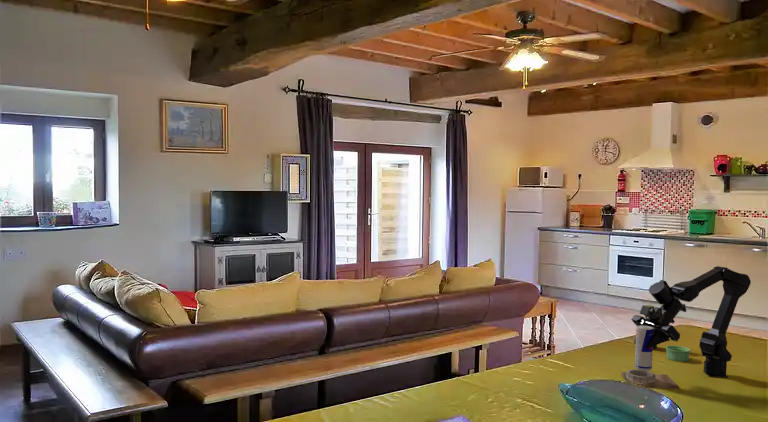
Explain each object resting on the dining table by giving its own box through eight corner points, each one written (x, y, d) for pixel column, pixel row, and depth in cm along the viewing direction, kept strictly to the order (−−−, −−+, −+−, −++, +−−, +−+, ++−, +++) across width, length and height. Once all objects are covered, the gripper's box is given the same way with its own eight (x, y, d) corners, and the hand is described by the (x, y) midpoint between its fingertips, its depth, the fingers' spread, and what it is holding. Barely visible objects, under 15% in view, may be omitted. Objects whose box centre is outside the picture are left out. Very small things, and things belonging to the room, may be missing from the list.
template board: (666, 377, 229) (667, 369, 229) (678, 389, 216) (679, 380, 216) (621, 374, 231) (621, 366, 231) (630, 386, 218) (630, 377, 218)
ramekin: (694, 362, 249) (694, 351, 249) (671, 362, 249) (671, 351, 249) (683, 356, 258) (684, 345, 258) (661, 355, 258) (662, 345, 258)
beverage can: (644, 372, 218) (646, 329, 218) (631, 367, 223) (632, 325, 223) (655, 370, 221) (656, 327, 220) (642, 365, 226) (643, 324, 225)
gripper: (636, 293, 231) (610, 324, 228) (674, 302, 213) (646, 337, 210) (653, 312, 234) (627, 344, 231) (692, 324, 216) (665, 358, 213)
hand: (640, 345), depth 221 cm, fingers closed on beverage can, 5 cm apart
